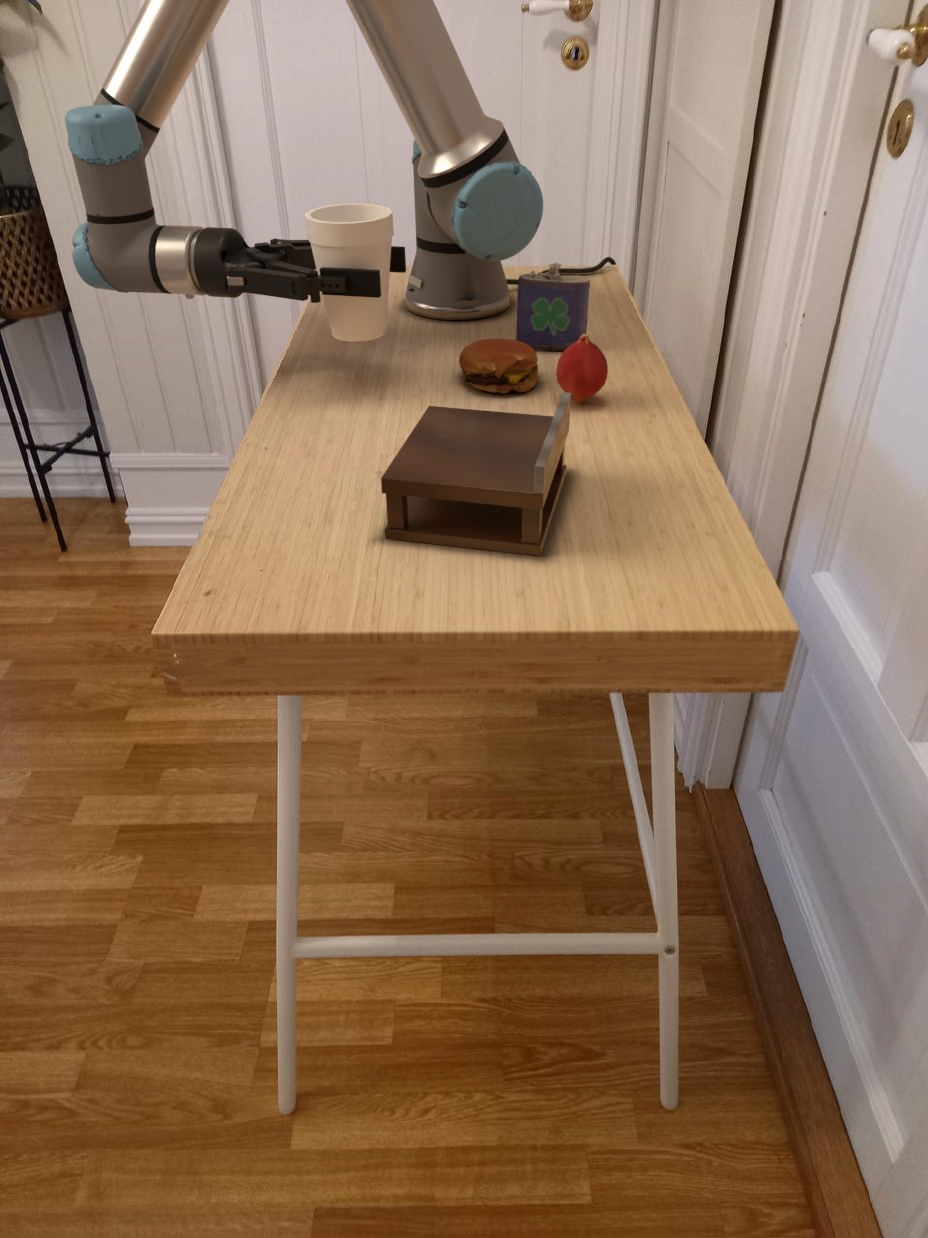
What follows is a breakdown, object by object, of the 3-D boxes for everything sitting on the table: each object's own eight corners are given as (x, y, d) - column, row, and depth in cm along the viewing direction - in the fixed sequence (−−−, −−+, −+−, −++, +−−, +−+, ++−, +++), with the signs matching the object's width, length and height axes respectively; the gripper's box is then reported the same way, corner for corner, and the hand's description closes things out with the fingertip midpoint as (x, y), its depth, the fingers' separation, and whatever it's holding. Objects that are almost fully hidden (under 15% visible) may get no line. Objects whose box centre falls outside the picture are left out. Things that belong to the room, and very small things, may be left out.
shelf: (430, 460, 96) (427, 381, 91) (566, 473, 93) (571, 392, 88) (384, 538, 83) (378, 450, 78) (540, 556, 80) (544, 466, 75)
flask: (586, 346, 123) (592, 261, 117) (584, 353, 121) (589, 268, 115) (517, 341, 125) (519, 258, 119) (513, 349, 123) (515, 264, 116)
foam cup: (385, 348, 104) (376, 225, 96) (306, 343, 106) (292, 221, 98) (407, 321, 111) (401, 204, 104) (334, 316, 113) (322, 201, 105)
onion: (548, 394, 110) (551, 327, 105) (595, 390, 111) (600, 323, 106) (563, 414, 105) (567, 344, 100) (611, 409, 106) (617, 340, 101)
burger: (486, 362, 118) (486, 325, 116) (551, 376, 114) (553, 339, 112) (443, 388, 112) (443, 349, 109) (511, 404, 108) (512, 365, 105)
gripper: (249, 269, 119) (419, 278, 114) (167, 324, 102) (364, 337, 97) (240, 206, 114) (417, 213, 110) (153, 252, 97) (359, 262, 93)
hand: (392, 271), depth 104 cm, fingers closed on foam cup, 9 cm apart
